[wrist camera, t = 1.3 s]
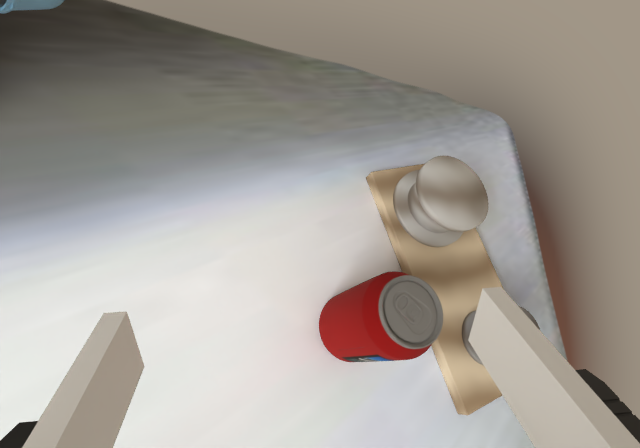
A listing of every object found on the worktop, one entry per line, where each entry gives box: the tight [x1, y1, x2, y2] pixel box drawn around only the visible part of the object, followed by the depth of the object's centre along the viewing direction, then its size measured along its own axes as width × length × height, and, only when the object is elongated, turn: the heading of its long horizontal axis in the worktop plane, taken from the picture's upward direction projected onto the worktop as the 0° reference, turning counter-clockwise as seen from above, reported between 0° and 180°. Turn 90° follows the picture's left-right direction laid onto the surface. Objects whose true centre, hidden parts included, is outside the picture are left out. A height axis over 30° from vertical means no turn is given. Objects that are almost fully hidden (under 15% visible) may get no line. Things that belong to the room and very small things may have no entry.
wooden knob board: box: [366, 156, 540, 415], centre depth 41 cm, size 28×12×6 cm, turn 19°
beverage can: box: [319, 272, 443, 362], centre depth 32 cm, size 7×7×12 cm
